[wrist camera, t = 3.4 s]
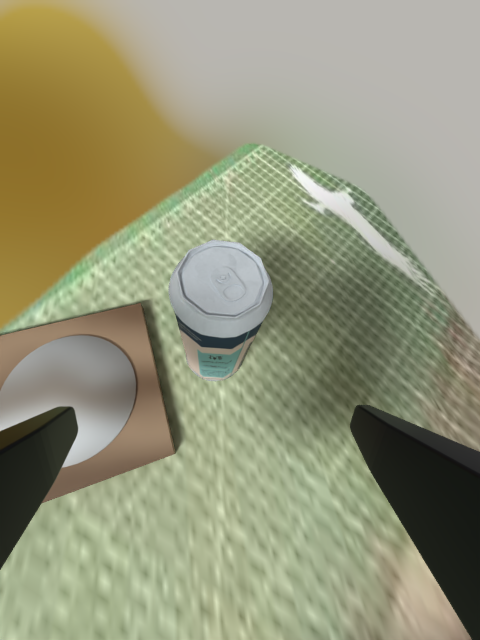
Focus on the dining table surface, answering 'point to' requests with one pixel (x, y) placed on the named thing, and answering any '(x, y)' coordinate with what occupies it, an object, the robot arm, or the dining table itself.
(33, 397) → the plate
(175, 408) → the dining table surface
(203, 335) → the beer can
